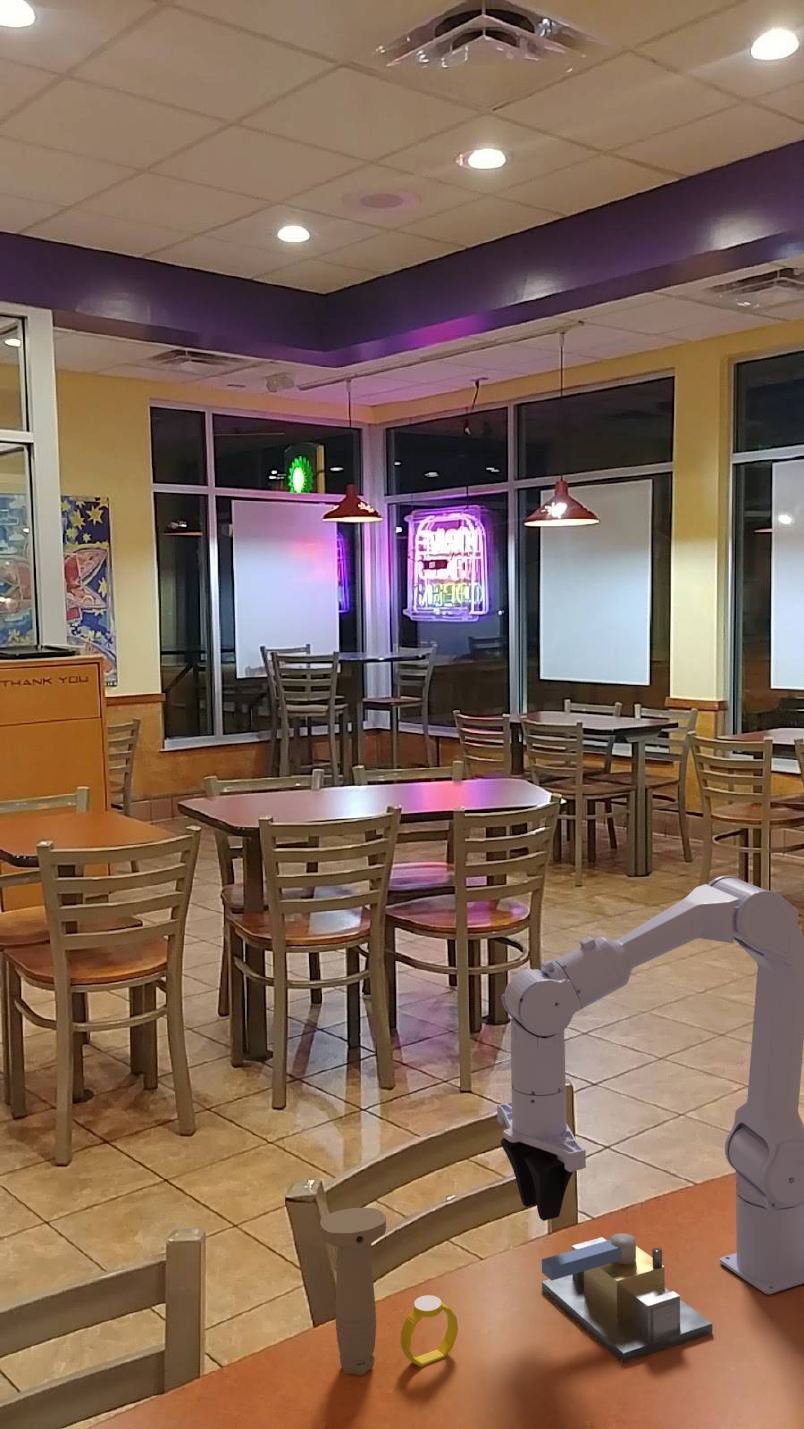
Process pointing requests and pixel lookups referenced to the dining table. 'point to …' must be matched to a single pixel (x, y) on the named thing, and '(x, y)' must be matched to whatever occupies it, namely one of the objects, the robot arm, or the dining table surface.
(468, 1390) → the dining table surface
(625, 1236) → the lever
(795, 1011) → the robot arm
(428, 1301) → the watch
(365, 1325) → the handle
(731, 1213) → the dining table surface
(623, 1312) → the valve
